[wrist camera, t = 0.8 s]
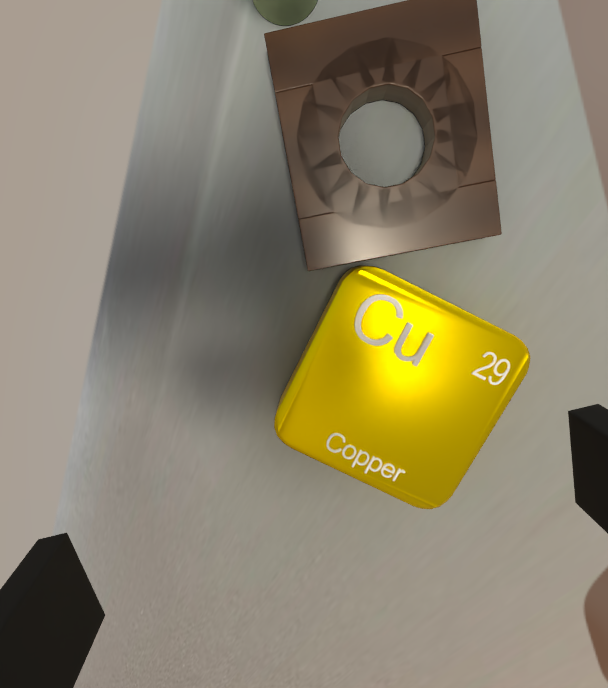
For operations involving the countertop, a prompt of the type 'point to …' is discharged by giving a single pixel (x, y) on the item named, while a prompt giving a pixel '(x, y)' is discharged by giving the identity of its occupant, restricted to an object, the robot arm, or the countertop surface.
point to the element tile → (399, 387)
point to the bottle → (285, 10)
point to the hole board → (397, 86)
